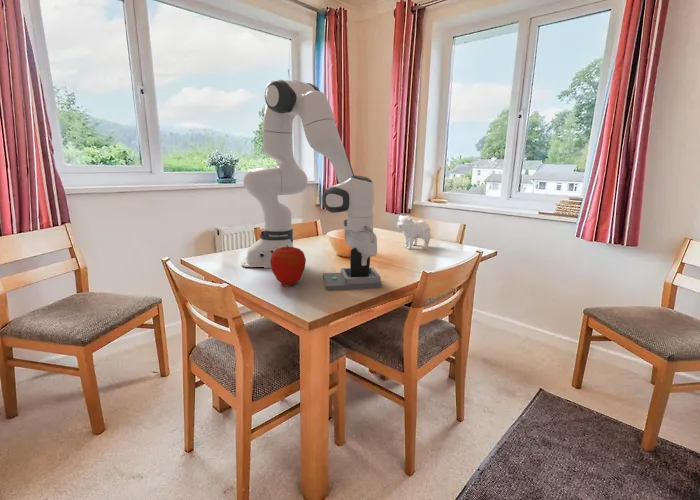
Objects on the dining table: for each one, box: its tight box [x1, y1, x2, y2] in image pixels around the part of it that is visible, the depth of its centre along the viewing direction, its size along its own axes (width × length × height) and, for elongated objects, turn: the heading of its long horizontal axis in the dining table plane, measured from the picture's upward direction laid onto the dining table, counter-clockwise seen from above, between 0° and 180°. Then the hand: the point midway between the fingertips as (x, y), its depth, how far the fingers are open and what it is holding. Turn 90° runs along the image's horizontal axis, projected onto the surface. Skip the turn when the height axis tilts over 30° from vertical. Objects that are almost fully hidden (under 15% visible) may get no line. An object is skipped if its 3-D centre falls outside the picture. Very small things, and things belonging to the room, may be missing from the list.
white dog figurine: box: [394, 214, 434, 251], centre depth 180 cm, size 25×10×17 cm, turn 125°
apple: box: [270, 245, 307, 287], centre depth 125 cm, size 12×12×14 cm
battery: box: [349, 247, 371, 277], centre depth 128 cm, size 7×4×11 cm, turn 89°
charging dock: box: [322, 266, 383, 291], centre depth 129 cm, size 19×14×4 cm
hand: (359, 262), depth 128 cm, fingers closed on battery, 5 cm apart
